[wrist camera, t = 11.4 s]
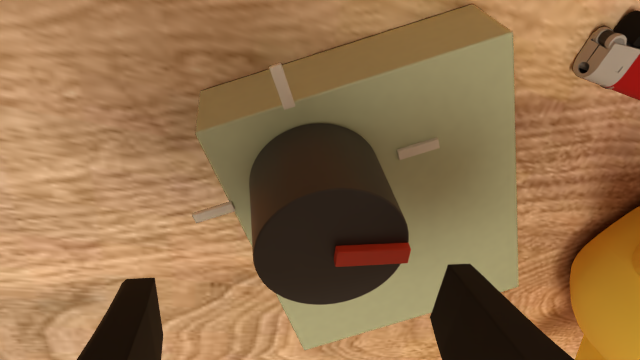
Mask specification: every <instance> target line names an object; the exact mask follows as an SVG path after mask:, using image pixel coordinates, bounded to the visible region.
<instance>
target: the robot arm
mask: <svg viewBox="0 0 640 360" xmlns="http://www.w3.org/2000/svg"><path fill="white" fill-rule="evenodd" d="M430 318H431V322H432V326H433V330H434V334H435V337H436V341H437V344H438V348H439V351H440V354H441V357H442V360H574V359H573V358H572V357H571V356H569V355H568V354H567V353H566V352H565V351H563V350H562V349H561V348H560V347H559V346H558V345H556V344H555V343H554V342H553V341H552V340H551V339H550V338H548V337H547V336H546V335H545V334H544V333H543V332H542V331H541V330H539V329H538V328H537V327H536V326H535V325H534V324H533V323H532V322H531V321H530V320H529V319H528V318H526V317H525V316H524V315H523V314H522V313H521V312H520V311H519V310H518V309H517V308H516V307H515V306H514V305H513V304H512V303H511V302H510V301H509V300H508V299H506V298H505V297H504V296H503V295H502V294H501V293H500V292H499V291H498V290H497V289H496V288H495V287H494V286H493V285H492V284H491V283H490V282H489V281H488V280H487V279H486V278H485V277H484V276H483V275H482V274H481V273H480V272H479V271H478V270H477V269H475V268H474V267H473V266H472V265H471V264H449V265H448V266H447V269H446V272H445V275H444V278H443V281H442V284H441V286H440V289H439V292H438V295H437V298H436V301H435V304H434V307H433V310H432V313H431V316H430ZM162 341H163V331H162V324H161V317H160V310H159V304H158V297H157V290H156V284H155V278H139V279H126V280H125V281H124V282H123V283H122V284H121V286H120V288H119V290H118V292H117V294H116V296H115V298H114V300H113V302H112V303H111V305H110V307H109V309H108V311H107V312H106V314H105V316H104V317H103V319H102V321H101V322H100V324H99V326H98V327H97V329H96V331H95V332H94V334H93V335H92V337H91V339H90V340H89V342H88V343H87V345H86V346H85V348H84V349H83V351H82V352H81V354H80V356H79V357H78V359H77V360H161V354H162Z"/></svg>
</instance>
